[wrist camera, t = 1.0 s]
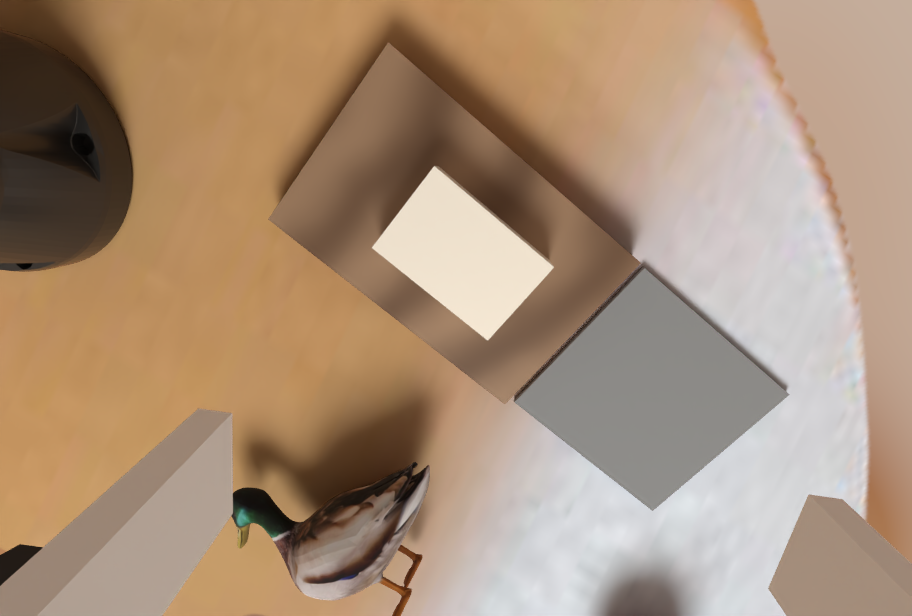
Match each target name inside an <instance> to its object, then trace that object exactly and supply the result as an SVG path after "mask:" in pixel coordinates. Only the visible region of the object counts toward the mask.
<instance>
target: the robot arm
mask: <svg viewBox="0 0 912 616" xmlns="http://www.w3.org/2000/svg"><path fill="white" fill-rule="evenodd" d="M131 188H132V171H131V161H130V155H129V151H128V146H127V143H126V139H125V136H124V134H123V131H122V128H121V126H120V123H119V121H118V119H117V117H116V115H115V113H114V111H113V110H112V108H111V106H110V104H109V103H108V101H107V100H106V98H105V97H104V95H103V94H102V93H101V91H100V90H99V88H98V87H97V86H96V85H95V84H94V82H93V81H92V80H91V79H90V78H89V77H88V76H87V75H86V74H85V73H84V72H83V71H82V70H81V69H80V68H79V67H78V66H77V65H75V64H74V63H73V62H72V61H71V60H69V59H68V58H66V57H65V56H64V55H62V54H61V53H59V52H58V51H56V50H54V49H53V48H51V47H49V46H47V45H45V44H43V43H41V42H39V41H36V40H33V39H31V38H28V37H24V36H21V35H17V34H14V33H10V32H7V31H3V30H0V270H8V271H40V270H46V269H51V268H56V267H60V266H65V265H69V264H73V263H77V262H80V261H82V260H85V259H87V258H89V257H91V256H93V255H94V254H96V253H97V252H99V251H100V250H101V249H103V248H104V247H105V246H106V245H107V244H108V243H109V242H110V241H111V240H112V238H113V237H114V236H115V235H116V233H117V232H118V230H119V228H120V227H121V225H122V223H123V221H124V218H125V216H126V213H127V210H128V206H129V202H130V197H131ZM232 514H233V458H232V413H227V412H220V411H213V410H206V409H199V408H198V409H197V410H196V411H195V412H194V413H193V414H192V415H191V416H190V417H188V418H187V419H186V420H185V421H184V422H183V423H182V424H181V425H179V426H178V427H177V428H176V429H175V430H174V431H173V432H172V433H171V434H169V435H168V436H167V437H166V438H165V439H164V440H163V441H162V442H160V443H159V444H158V445H157V446H156V447H155V448H154V449H153V450H152V451H150V452H149V453H148V454H147V455H146V456H145V457H144V458H143V459H141V460H140V461H139V462H138V463H137V464H136V465H135V466H134V467H133V468H131V469H130V470H129V471H128V472H127V473H126V474H125V475H124V476H123V477H121V478H120V479H119V480H118V481H117V482H116V483H115V484H114V485H112V486H111V487H110V488H109V489H108V490H107V491H106V492H105V493H104V494H102V495H101V496H100V497H99V498H98V499H97V500H96V501H95V502H93V503H92V504H91V505H90V506H89V507H88V508H87V509H86V510H85V511H83V512H82V513H81V514H80V515H79V516H78V517H77V518H76V519H74V520H73V521H72V522H71V523H70V524H69V525H68V526H67V527H66V528H64V529H63V530H62V531H61V532H60V533H59V534H58V535H57V536H55V537H54V538H53V539H52V540H51V541H50V542H49V543H48V544H47V545H45V546H44V547H36V546H29V545H21V544H20V545H18V546H16V547H14V548H12V549H11V550H9V551H7V552H5V553H3V554H1V555H0V616H162V615H163V614H164V612H165V611H166V609H167V608H168V607H169V605H170V604H171V602H172V601H173V599H174V598H175V596H176V595H177V593H178V592H179V591H180V589H181V588H182V586H183V585H184V583H185V582H186V580H187V579H188V578H189V576H190V575H191V573H192V572H193V570H194V569H195V567H196V566H197V564H198V563H199V562H200V560H201V559H202V557H203V556H204V554H205V553H206V551H207V550H208V549H209V547H210V546H211V544H212V543H213V541H214V540H215V538H216V537H217V535H218V534H219V533H220V531H221V530H222V528H223V527H224V525H225V524H226V522H227V521H228V519H229V518H230V517H231V515H232ZM768 589H769V590H770V592H771V593H772V595H773V596H774V598H775V599H776V601H777V602H778V604H779V605H780V606H781V608H782V609H783V611H784V612H785V614H786V615H787V616H912V564H911V563H910V562H909V561H908V560H907V559H906V558H905V557H904V556H903V555H902V554H900V553H899V552H898V551H897V550H896V549H895V548H894V547H893V546H892V545H891V544H889V542H888V541H886V540H885V539H884V538H883V537H882V536H881V535H880V534H879V533H878V532H877V531H876V530H875V529H874V528H872V527H871V526H870V525H869V524H868V523H867V522H866V521H865V520H864V519H863V518H862V517H861V516H860V515H859V514H857V513H856V512H855V511H854V510H853V509H852V508H851V507H850V506H849V505H848V504H847V503H846V502H845V501H844V500H842V499H836V498H829V497H822V496H815V495H808V497H807V500H806V502H805V504H804V507H803V509H802V511H801V514H800V516H799V518H798V521H797V523H796V525H795V528H794V530H793V532H792V534H791V537H790V539H789V541H788V544H787V546H786V548H785V551H784V553H783V555H782V558H781V560H780V562H779V565H778V567H777V569H776V572H775V574H774V576H773V579H772V581H771V583H770V586H769V588H768Z"/></svg>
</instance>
